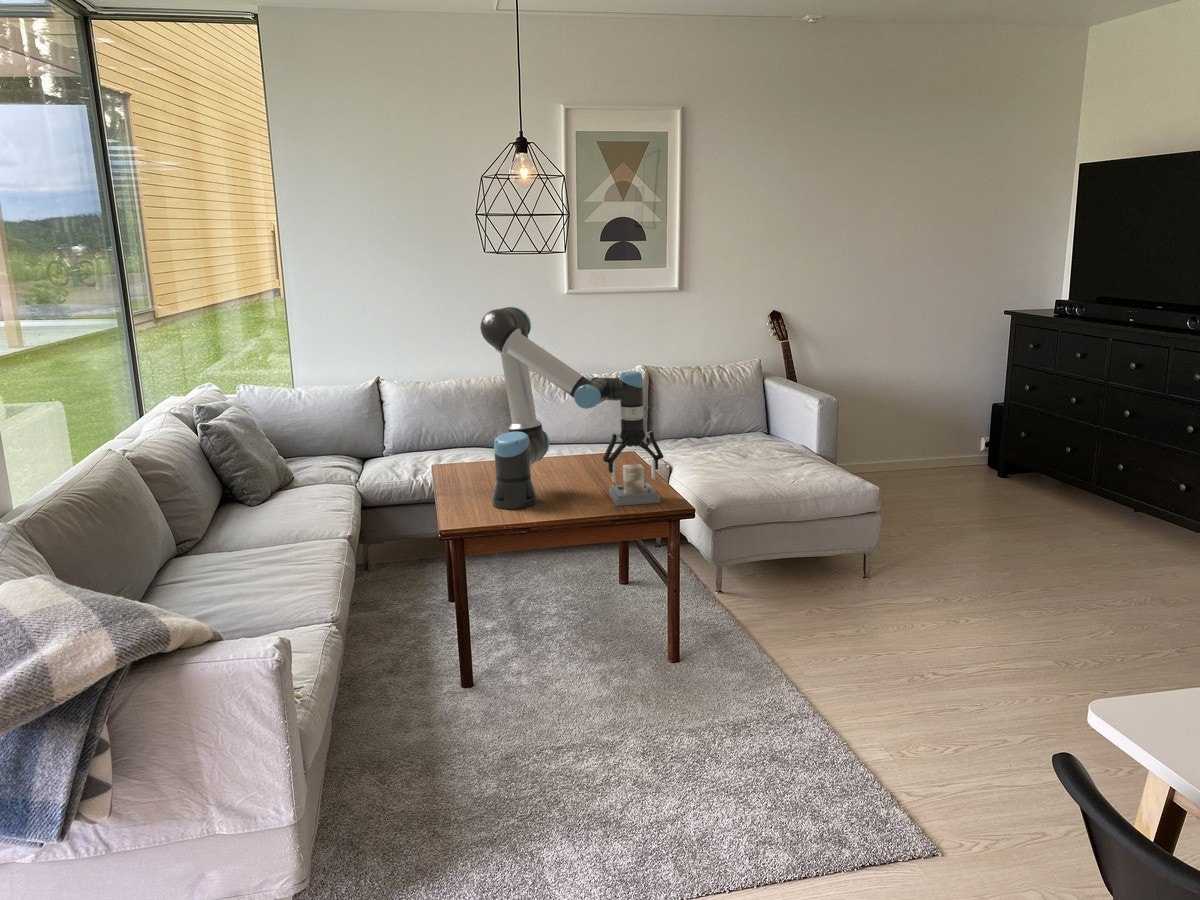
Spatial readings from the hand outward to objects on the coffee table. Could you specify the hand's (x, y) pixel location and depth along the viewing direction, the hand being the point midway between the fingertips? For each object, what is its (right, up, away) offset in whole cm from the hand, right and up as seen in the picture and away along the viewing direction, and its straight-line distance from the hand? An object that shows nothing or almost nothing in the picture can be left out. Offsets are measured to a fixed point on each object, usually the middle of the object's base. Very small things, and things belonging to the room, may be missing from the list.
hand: (633, 480), depth 295 cm
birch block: (0, -4, +1) cm, 4 cm away
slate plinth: (0, -6, +1) cm, 6 cm away
